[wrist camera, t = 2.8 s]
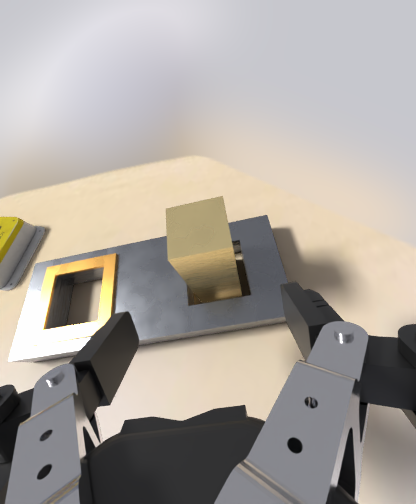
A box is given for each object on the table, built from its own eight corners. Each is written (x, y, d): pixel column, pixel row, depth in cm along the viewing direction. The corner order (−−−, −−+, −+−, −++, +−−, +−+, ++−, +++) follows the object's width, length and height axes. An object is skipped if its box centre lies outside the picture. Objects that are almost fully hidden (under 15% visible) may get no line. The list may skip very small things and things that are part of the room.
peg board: (266, 228, 25) (267, 213, 23) (293, 320, 20) (298, 313, 18) (52, 272, 28) (33, 262, 25) (31, 362, 23) (4, 361, 20)
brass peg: (234, 259, 24) (222, 196, 15) (242, 296, 22) (232, 246, 13) (198, 266, 24) (165, 208, 16) (202, 303, 22) (167, 259, 14)
